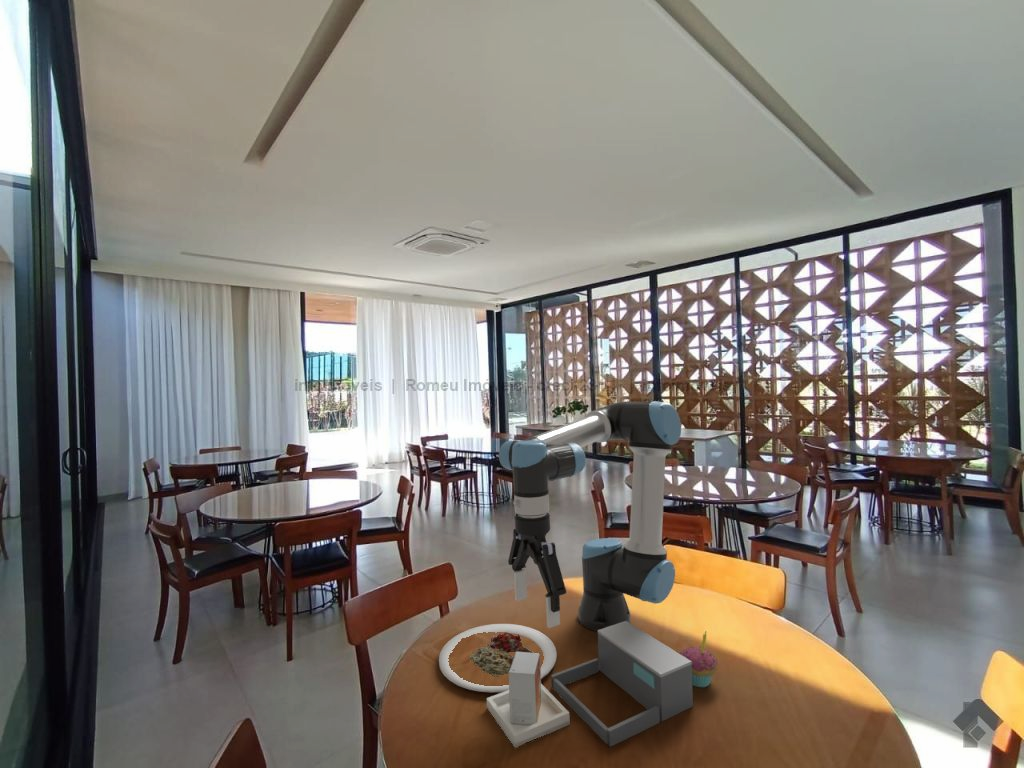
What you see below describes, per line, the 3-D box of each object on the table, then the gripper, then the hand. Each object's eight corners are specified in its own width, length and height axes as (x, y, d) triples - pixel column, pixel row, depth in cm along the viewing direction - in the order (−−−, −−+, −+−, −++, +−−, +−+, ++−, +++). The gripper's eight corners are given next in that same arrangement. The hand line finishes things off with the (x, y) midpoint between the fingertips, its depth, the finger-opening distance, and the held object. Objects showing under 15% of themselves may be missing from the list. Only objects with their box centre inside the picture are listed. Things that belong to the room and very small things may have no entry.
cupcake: (716, 673, 112) (715, 623, 112) (719, 696, 104) (718, 641, 104) (678, 667, 115) (676, 618, 115) (678, 689, 107) (676, 636, 107)
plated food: (439, 707, 104) (438, 692, 104) (438, 636, 133) (438, 624, 133) (571, 689, 108) (570, 674, 108) (542, 625, 138) (542, 613, 138)
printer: (551, 688, 109) (550, 646, 109) (627, 658, 119) (625, 620, 119) (609, 747, 90) (608, 696, 90) (693, 706, 101) (691, 661, 101)
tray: (486, 709, 102) (486, 698, 102) (537, 689, 108) (537, 679, 108) (514, 748, 91) (514, 736, 91) (569, 724, 97) (569, 712, 97)
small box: (536, 727, 95) (535, 674, 95) (509, 723, 96) (507, 672, 96) (542, 700, 103) (540, 652, 103) (517, 698, 104) (515, 650, 104)
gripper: (491, 503, 111) (495, 594, 111) (548, 531, 88) (553, 644, 89) (519, 498, 114) (523, 586, 114) (580, 524, 92) (585, 632, 92)
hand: (536, 611), depth 101 cm, fingers open, 13 cm apart
